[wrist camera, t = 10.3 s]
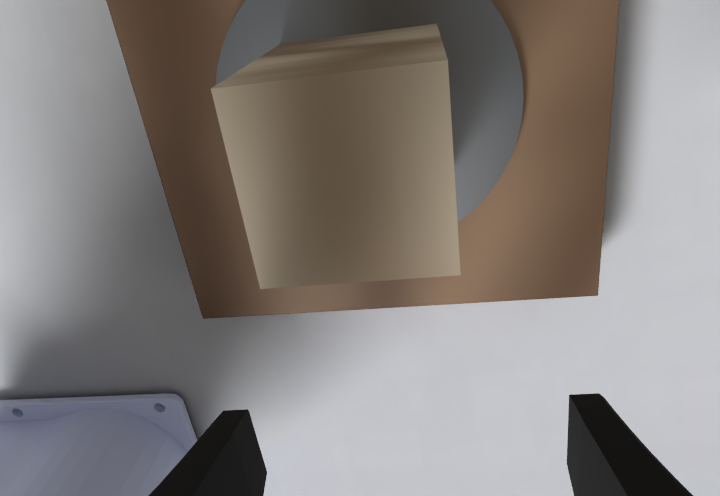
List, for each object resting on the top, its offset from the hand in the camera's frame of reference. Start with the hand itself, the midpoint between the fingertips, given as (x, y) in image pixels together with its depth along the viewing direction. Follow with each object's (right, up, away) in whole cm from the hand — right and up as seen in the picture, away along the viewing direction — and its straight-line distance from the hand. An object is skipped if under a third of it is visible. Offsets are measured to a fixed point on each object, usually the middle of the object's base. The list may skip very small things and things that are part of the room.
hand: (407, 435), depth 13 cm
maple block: (-1, +8, +4) cm, 9 cm away
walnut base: (-1, +9, +6) cm, 11 cm away
